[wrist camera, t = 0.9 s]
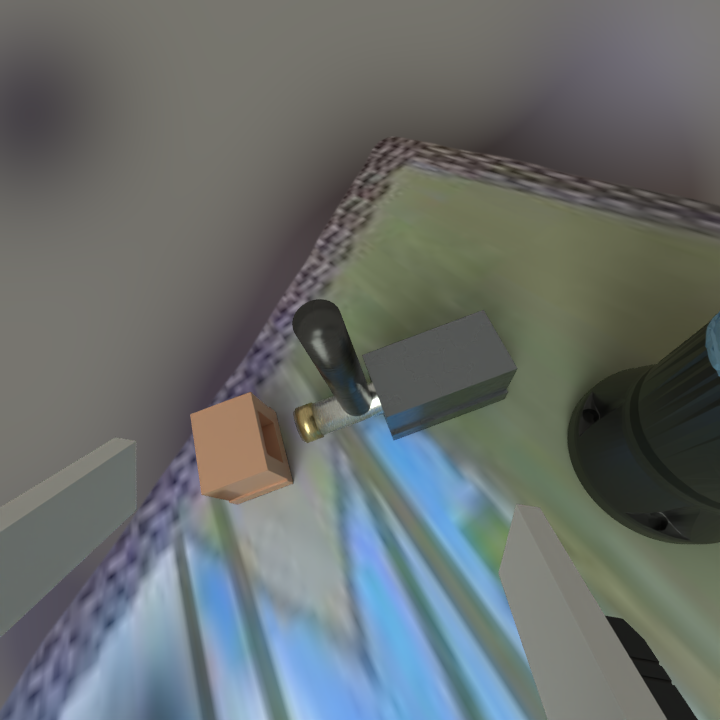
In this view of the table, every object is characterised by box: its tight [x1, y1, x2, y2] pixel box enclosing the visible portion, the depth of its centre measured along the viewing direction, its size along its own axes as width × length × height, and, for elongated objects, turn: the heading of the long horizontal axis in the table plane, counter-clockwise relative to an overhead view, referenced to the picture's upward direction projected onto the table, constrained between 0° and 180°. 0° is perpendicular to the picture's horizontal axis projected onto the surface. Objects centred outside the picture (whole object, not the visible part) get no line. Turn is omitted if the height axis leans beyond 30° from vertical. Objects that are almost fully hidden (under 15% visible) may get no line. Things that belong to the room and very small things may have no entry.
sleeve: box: [362, 310, 517, 440], centre depth 38 cm, size 12×7×7 cm, turn 109°
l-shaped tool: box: [292, 299, 384, 443], centre depth 32 cm, size 20×4×18 cm, turn 109°
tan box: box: [191, 392, 293, 504], centre depth 39 cm, size 6×8×7 cm
